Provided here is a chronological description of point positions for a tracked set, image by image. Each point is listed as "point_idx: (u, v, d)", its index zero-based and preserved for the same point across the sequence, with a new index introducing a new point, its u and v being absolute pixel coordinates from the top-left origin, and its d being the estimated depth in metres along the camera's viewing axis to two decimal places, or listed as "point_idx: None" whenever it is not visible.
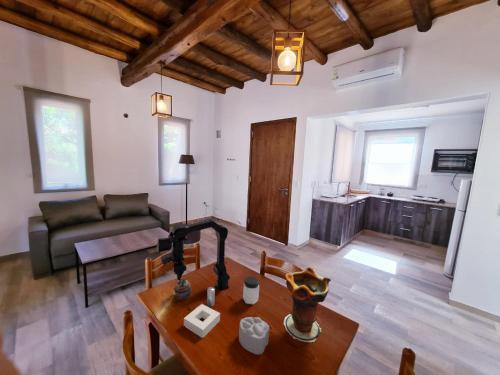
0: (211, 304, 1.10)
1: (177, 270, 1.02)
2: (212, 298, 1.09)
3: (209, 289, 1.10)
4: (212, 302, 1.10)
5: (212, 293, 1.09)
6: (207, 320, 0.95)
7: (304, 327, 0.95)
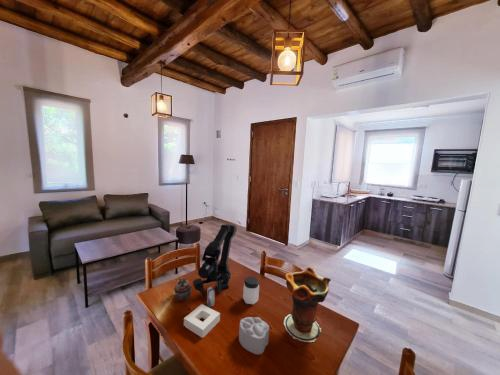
0: (211, 304, 1.10)
1: (193, 284, 1.06)
2: (212, 298, 1.09)
3: (209, 289, 1.10)
4: (212, 302, 1.10)
5: (212, 293, 1.09)
6: (207, 320, 0.95)
7: (304, 327, 0.95)
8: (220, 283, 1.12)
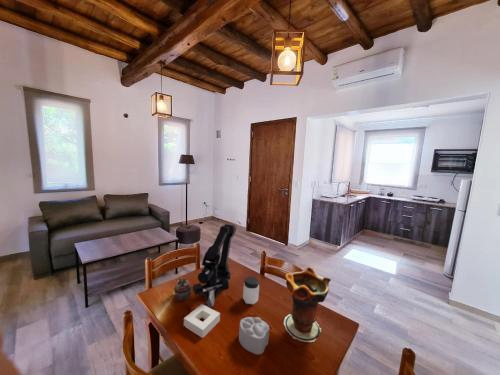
0: (211, 304, 1.10)
1: (193, 289, 1.07)
2: (212, 298, 1.09)
3: (209, 289, 1.10)
4: (212, 302, 1.10)
5: (212, 293, 1.09)
6: (207, 320, 0.95)
7: (304, 327, 0.95)
8: (216, 289, 1.11)
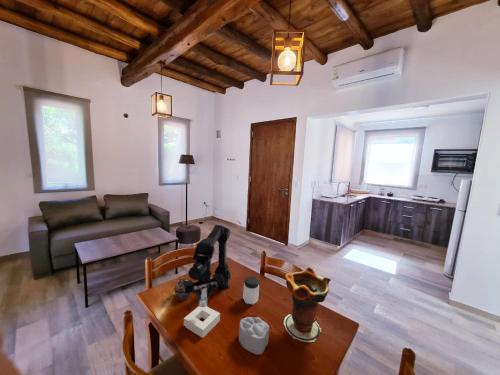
0: (204, 304, 0.95)
1: (182, 286, 0.92)
2: (205, 297, 0.95)
3: (201, 287, 0.95)
4: (205, 302, 0.95)
5: (205, 291, 0.94)
6: (207, 320, 0.95)
7: (304, 327, 0.95)
8: (209, 287, 0.97)
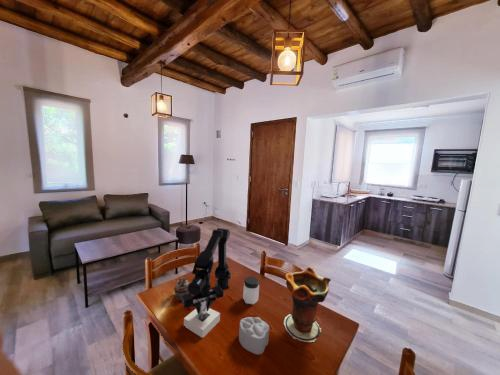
0: (203, 317, 0.96)
1: (182, 300, 0.93)
2: (204, 310, 0.96)
3: (201, 300, 0.96)
4: (204, 315, 0.96)
5: (204, 304, 0.95)
6: (207, 320, 0.95)
7: (304, 327, 0.95)
8: (208, 300, 0.97)
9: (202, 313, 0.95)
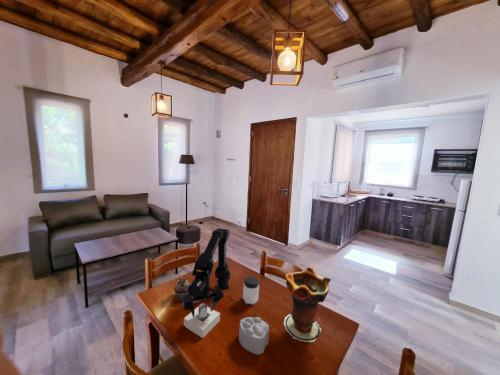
0: None
1: (182, 302, 0.93)
2: (204, 317, 0.96)
3: (200, 306, 0.96)
4: None
5: (204, 311, 0.96)
6: (207, 320, 0.95)
7: (304, 327, 0.95)
8: (212, 300, 0.99)
9: (202, 320, 0.96)
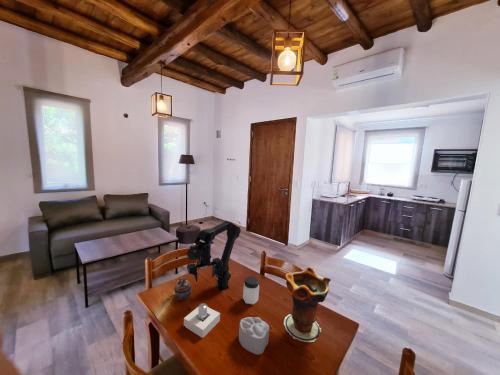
0: None
1: (187, 268, 1.08)
2: (204, 317, 0.96)
3: (200, 306, 0.96)
4: None
5: (204, 311, 0.95)
6: (207, 320, 0.95)
7: (304, 327, 0.95)
8: (213, 268, 1.14)
9: (202, 320, 0.96)
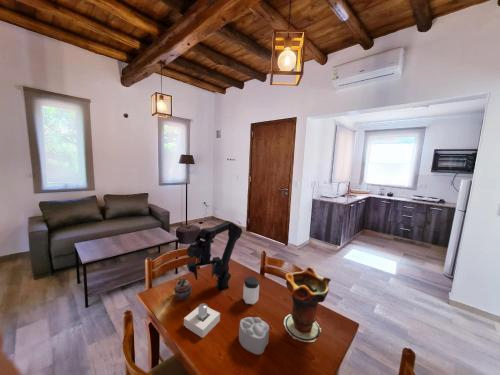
0: None
1: (187, 266, 1.10)
2: (204, 317, 0.96)
3: (200, 306, 0.96)
4: None
5: (204, 311, 0.95)
6: (207, 320, 0.95)
7: (304, 327, 0.95)
8: (213, 266, 1.15)
9: (202, 320, 0.96)
